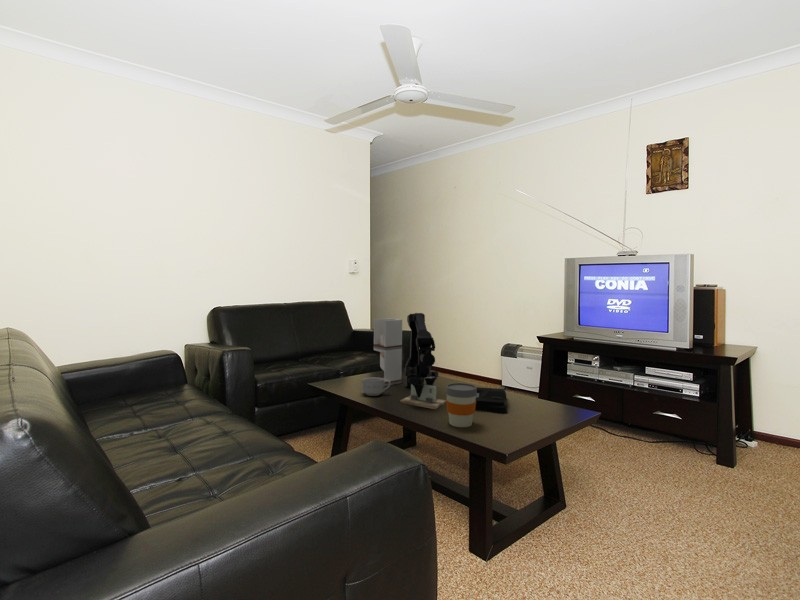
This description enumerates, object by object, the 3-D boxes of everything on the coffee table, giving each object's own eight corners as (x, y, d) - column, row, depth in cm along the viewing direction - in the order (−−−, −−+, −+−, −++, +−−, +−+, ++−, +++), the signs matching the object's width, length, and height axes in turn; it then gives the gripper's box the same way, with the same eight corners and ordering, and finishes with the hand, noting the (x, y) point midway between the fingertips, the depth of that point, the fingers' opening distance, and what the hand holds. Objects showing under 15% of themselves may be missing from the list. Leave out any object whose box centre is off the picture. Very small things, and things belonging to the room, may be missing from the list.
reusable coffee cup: (477, 420, 180) (478, 384, 179) (474, 430, 168) (475, 391, 167) (447, 417, 184) (448, 381, 183) (442, 426, 171) (443, 389, 171)
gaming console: (506, 415, 189) (507, 399, 188) (461, 411, 193) (461, 395, 193) (506, 398, 214) (506, 384, 214) (465, 395, 219) (466, 381, 219)
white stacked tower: (389, 379, 249) (390, 318, 247) (401, 382, 241) (402, 319, 239) (373, 382, 242) (373, 319, 240) (385, 386, 234) (385, 320, 232)
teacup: (359, 396, 213) (359, 380, 212) (366, 391, 223) (366, 375, 223) (386, 399, 209) (387, 382, 209) (392, 393, 220) (392, 377, 220)
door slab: (413, 397, 208) (413, 382, 208) (436, 401, 202) (436, 386, 201) (410, 398, 205) (410, 383, 205) (433, 402, 199) (433, 387, 199)
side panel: (413, 396, 214) (413, 390, 213) (446, 402, 204) (446, 396, 204) (400, 402, 203) (400, 395, 203) (435, 409, 194) (435, 402, 194)
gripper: (418, 357, 215) (418, 388, 216) (398, 363, 199) (398, 397, 200) (439, 359, 209) (438, 391, 210) (420, 366, 193) (419, 401, 194)
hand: (423, 395), depth 204 cm, fingers open, 9 cm apart
